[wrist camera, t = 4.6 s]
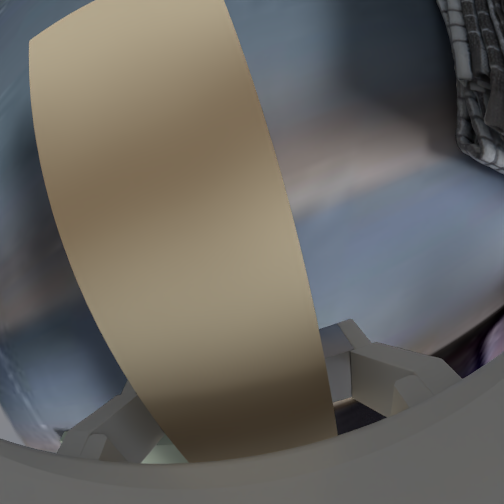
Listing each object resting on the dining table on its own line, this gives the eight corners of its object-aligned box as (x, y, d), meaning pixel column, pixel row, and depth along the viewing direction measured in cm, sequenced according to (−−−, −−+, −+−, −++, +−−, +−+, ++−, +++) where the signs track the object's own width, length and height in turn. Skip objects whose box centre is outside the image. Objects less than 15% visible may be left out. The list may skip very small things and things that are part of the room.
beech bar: (325, 453, 13) (348, 519, 8) (259, 469, 13) (268, 537, 8) (217, 52, 8) (207, -39, 3) (109, 90, 8) (29, 40, 3)
